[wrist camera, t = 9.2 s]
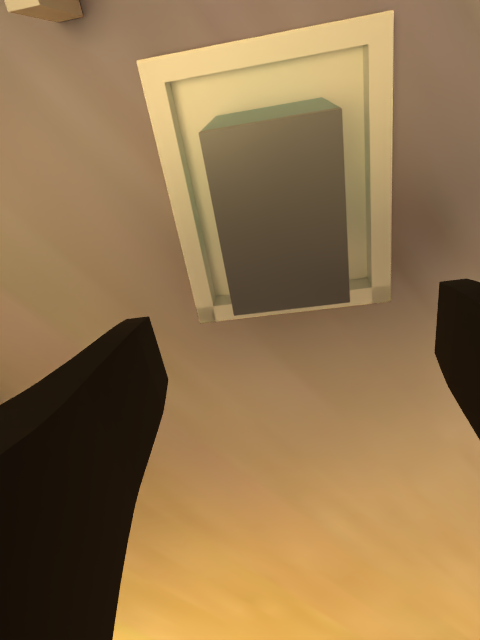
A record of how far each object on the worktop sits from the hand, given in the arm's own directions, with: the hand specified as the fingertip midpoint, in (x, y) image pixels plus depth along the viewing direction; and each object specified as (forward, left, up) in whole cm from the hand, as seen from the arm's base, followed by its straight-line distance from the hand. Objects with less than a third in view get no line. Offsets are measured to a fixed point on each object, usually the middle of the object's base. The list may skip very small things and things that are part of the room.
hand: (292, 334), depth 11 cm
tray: (+2, 0, -9) cm, 9 cm away
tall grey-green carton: (+2, 0, -9) cm, 9 cm away
